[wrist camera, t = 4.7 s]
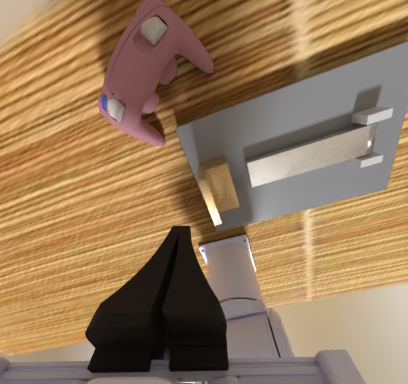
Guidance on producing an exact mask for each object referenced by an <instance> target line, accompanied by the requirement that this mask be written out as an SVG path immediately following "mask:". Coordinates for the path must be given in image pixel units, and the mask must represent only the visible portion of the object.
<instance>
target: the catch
mask: <svg viewBox="0 0 408 384" xmlns="http://www.w3.org/2000/svg"><path fill="white" fill-rule="evenodd" d="M197 182H198V184H199V187H200V189H201V192H202V194H203V197H204V199H205V202H206V204H207V207H208V209H209V212H210V214H211V217H212V219H213V222H214V224H215V225H219V224H222V218H221V212H222V211H226V210H229V209H233V208H237V207H239V203H238V200H237V196H236V193H235V189H234V185H233V182H232V178H231V175H230V171H229V168H228V164H227V161H226V159H225V156H221V157H218V158H215V159H212V160H209V161H206V162H202V163H199V164H198V180H197Z"/></svg>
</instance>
